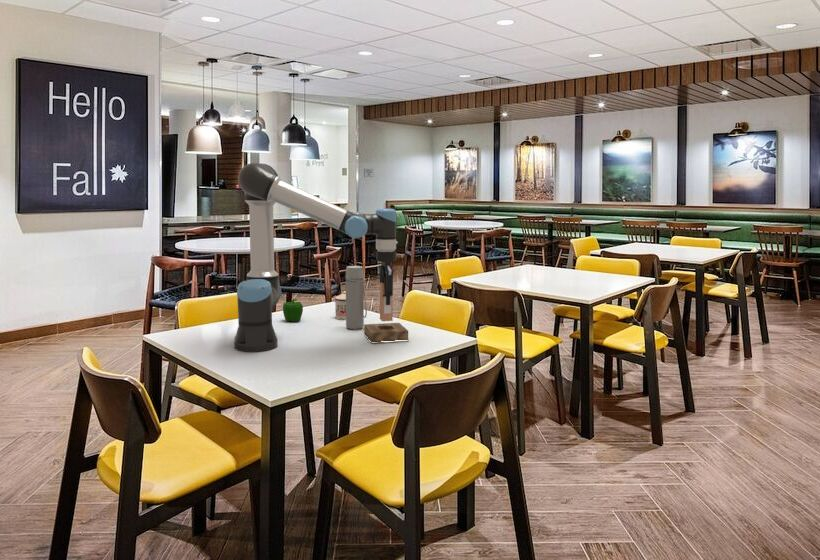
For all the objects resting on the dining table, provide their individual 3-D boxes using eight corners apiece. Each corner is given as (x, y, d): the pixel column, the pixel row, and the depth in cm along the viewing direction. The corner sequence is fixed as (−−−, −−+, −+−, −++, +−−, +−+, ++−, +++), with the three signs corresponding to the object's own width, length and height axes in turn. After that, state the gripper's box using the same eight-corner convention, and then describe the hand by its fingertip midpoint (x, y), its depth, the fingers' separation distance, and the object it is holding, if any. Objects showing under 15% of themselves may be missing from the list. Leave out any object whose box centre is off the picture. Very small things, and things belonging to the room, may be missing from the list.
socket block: (371, 343, 228) (371, 332, 227) (364, 334, 241) (364, 324, 241) (408, 341, 231) (408, 330, 231) (399, 332, 245) (399, 322, 244)
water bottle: (341, 328, 250) (341, 267, 246) (352, 325, 257) (352, 265, 253) (361, 331, 246) (361, 269, 242) (371, 327, 253) (371, 266, 249)
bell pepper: (282, 319, 266) (281, 296, 265) (301, 318, 269) (301, 295, 267) (284, 323, 258) (283, 300, 257) (304, 322, 261) (303, 299, 259)
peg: (382, 321, 233) (382, 284, 231) (379, 319, 237) (379, 282, 234) (392, 320, 234) (392, 284, 232) (390, 318, 238) (390, 282, 235)
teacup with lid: (332, 319, 267) (332, 292, 265) (337, 315, 276) (337, 289, 274) (360, 320, 265) (360, 293, 264) (364, 316, 274) (364, 290, 272)
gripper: (401, 252, 224) (401, 316, 228) (390, 247, 240) (390, 307, 244) (381, 253, 222) (381, 317, 226) (371, 248, 238) (371, 308, 242)
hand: (386, 311), depth 235 cm, fingers closed on peg, 4 cm apart
